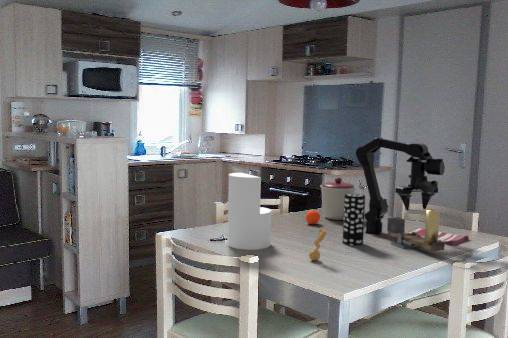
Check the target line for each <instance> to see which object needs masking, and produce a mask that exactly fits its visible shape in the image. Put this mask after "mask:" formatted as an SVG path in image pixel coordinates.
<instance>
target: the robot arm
mask: <svg viewBox="0 0 508 338" xmlns="http://www.w3.org/2000/svg"><path fill="white" fill-rule="evenodd" d="M381 148H382V149H383V148H384V149H389V150H392V151H397V152H402V153H405V154H406V155H408V156H410V157H409V158H408V159H407V160H406V163H411V164H410V174H409V175H408V178H409V179H410V184H408V185H407V186H405V185H397V186H396V187H395V191H394V193H396V194H397V195H398V196H399V197H400V199H401V201H402V203H403V205H404V208H405V210H406V211H409V210H410V199H411V197H412V196H413V195H412V193H415V192H416V193H417V192H418V193H421V194H420V195H421V204H422V209H423V210H426V209H427V206H428V205H429V202H430V200H431V198H432V197H433V196H436V194H438V193H439V188H438V186H439V184H438V181H437V180H431V181H430V180H429V179H428V176H427V175H426V173H427V174H428V175H434V176H443V175H444V173H445V168H446V166H445V162H444V159H443V158H433V156H432V155H431V153H430V152H429V147H428V146H427V144H426V143H421V142H419V143H412V142H411V143H410V142H409V143H406V142H401V141H397V140H393V139H386V138H384V137H375V138H374V139H372V140H371V141H370V142H368V143H366V144H364V145H362V146H359V147H357V149H356V150H355V156H356V159H357V160H358V162H359V164H360V166H361V167H362V171H363V174H364V177H365V182H366V186H367V191H368V194H369V203H368V208H369V209H368V211H367V212H365V213H364V221H365V220H366V223H365V225H366V226H365V227H366V228H365V231H364V233H365V234H374V235H381V233H383V226H384V225H383V224H384V222H383V221H382V219H384V217H385V216H386V214H387V213H388V211H389V208H390V207H389V205H388V200H387V198H383V197H382V196H381V191H380V188H379V183H378V179H377V174H376V172H375V166H374V162H375V153H377V152H378V151H379V150H380V149H381Z"/></svg>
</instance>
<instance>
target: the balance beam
mask: <svg viewBox="0 0 508 338" xmlns="http://www.w3.org/2000/svg"><path fill="white" fill-rule="evenodd" d="M405 223H406V219H405V218H401V217H399V216H396V217H394V216H393V217H392V216H391V217H387V224H386V225H387V227H386V228H387V229H386V231H387V236H388V235H389V236H391V237H394V238H396V239H398V233H402V234H404V236H403V241H407V242H410V243H412V244H415V245H418V246H421V247H420V248H424V249H427V250H429V251H432V252H439V251H445V245H446V244H445V242H433V243H432V245H426V244H424V239H422V238H419V237H416V236H413V235H410V234H407V233H406V232H405V230H406V229H405V228H406V227H405V226H406V225H405Z"/></svg>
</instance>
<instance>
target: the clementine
mask: <svg viewBox="0 0 508 338" xmlns="http://www.w3.org/2000/svg"><path fill="white" fill-rule="evenodd" d="M305 219H306V222H307V223H308V224H310V225H316V224H318V223H319V222H320V220H321V214H320V213H319V212H318V211H317V210H315V209H308V210H307V211H306V214H305Z"/></svg>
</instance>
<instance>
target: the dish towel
mask: <svg viewBox="0 0 508 338" xmlns="http://www.w3.org/2000/svg"><path fill="white" fill-rule="evenodd" d="M412 232H416V233H418V237H419V238H422V239H424V236H425V228H418V227H417V228H415V229H411V230H409V231H407V232H405V233H407V234H410V235H412ZM469 239H470V237H469V235H461V234H460V235H459V234H452V233H448V232H447V233H446V232H443V231H442V232H441V231H439V234H438V242H445V245H446V246H447V245H448V246H452V247H455V246H457V245H458V244H459V245H460V244H462V243H464V242H467V241H468V240H469Z"/></svg>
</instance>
